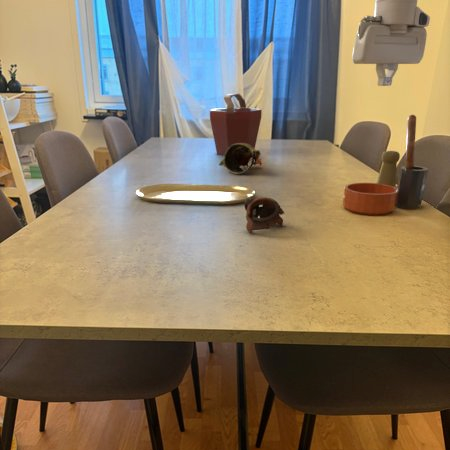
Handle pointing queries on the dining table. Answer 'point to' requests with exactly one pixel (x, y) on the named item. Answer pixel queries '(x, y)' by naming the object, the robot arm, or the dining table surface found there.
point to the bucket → (234, 124)
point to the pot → (240, 158)
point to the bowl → (370, 198)
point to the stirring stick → (410, 142)
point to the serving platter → (195, 194)
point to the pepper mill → (389, 168)
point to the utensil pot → (411, 187)
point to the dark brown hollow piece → (262, 213)
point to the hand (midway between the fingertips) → (384, 85)
